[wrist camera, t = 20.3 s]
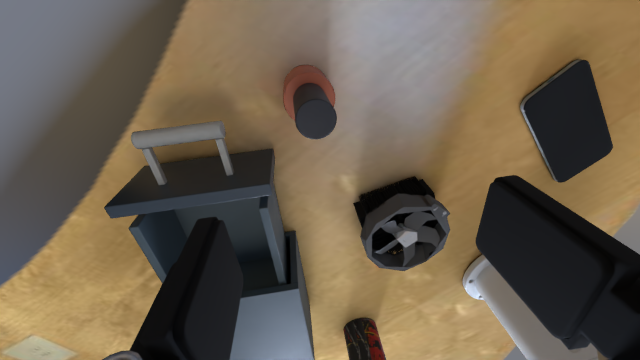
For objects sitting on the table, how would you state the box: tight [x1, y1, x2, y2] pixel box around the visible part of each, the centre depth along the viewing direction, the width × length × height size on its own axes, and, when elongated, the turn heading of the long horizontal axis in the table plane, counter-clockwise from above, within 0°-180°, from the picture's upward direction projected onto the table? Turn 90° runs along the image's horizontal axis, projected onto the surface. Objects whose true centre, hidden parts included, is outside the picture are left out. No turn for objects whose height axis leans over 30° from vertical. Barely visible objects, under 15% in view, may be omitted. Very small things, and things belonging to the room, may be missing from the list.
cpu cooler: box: [353, 176, 450, 271], centre depth 33 cm, size 10×6×10 cm
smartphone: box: [520, 60, 613, 182], centre depth 32 cm, size 7×1×15 cm
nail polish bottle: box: [283, 65, 337, 139], centre depth 22 cm, size 4×4×10 cm
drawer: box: [104, 121, 290, 292], centre depth 28 cm, size 20×13×7 cm, turn 5°
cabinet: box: [230, 231, 315, 360], centre depth 36 cm, size 17×15×9 cm
